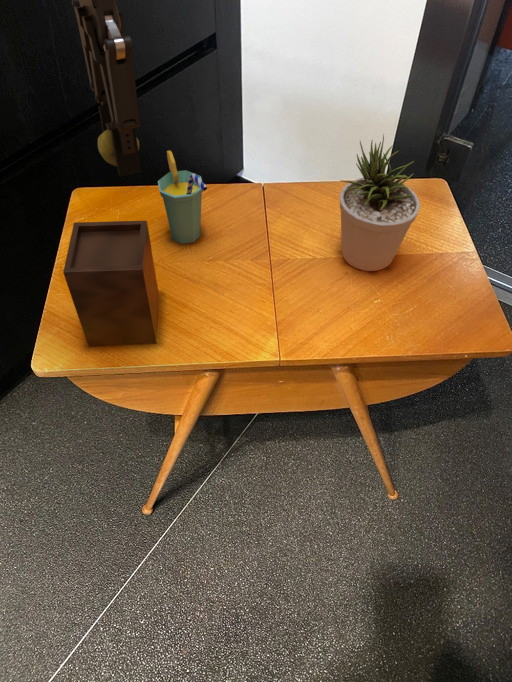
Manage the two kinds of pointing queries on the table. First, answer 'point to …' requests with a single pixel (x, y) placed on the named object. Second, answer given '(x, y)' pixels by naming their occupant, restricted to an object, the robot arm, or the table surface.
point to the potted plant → (375, 212)
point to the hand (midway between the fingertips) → (123, 162)
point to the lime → (108, 147)
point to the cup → (182, 202)
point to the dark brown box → (113, 282)
